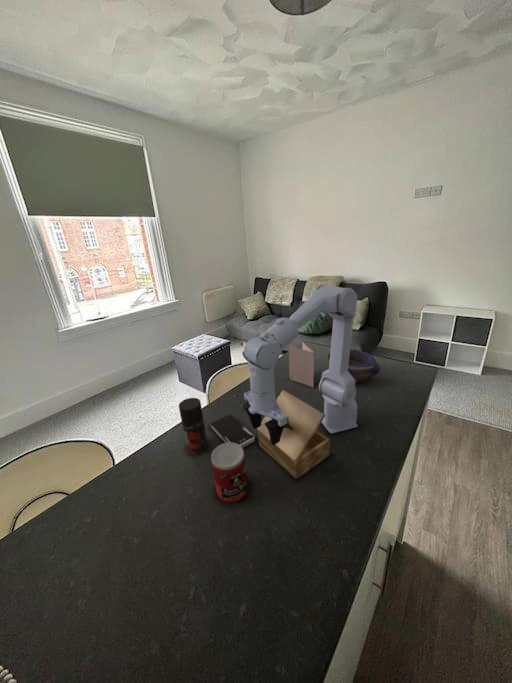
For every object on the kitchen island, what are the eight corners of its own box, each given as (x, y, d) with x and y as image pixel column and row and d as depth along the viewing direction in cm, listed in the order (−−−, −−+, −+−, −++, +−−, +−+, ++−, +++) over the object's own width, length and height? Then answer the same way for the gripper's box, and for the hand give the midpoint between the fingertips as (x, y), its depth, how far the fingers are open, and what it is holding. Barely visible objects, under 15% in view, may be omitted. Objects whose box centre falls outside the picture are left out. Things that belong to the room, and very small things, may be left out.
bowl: (382, 388, 105) (385, 364, 101) (334, 390, 105) (335, 367, 102) (365, 366, 121) (367, 345, 118) (324, 369, 122) (325, 348, 118)
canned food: (223, 509, 63) (217, 473, 59) (212, 484, 70) (206, 449, 66) (253, 494, 66) (250, 458, 62) (239, 471, 73) (235, 437, 69)
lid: (284, 390, 82) (276, 383, 79) (325, 415, 70) (317, 408, 67) (258, 429, 79) (249, 424, 76) (296, 462, 67) (286, 456, 64)
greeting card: (315, 387, 109) (316, 352, 103) (297, 390, 107) (297, 355, 102) (304, 374, 119) (304, 341, 114) (287, 376, 118) (287, 344, 112)
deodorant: (211, 442, 84) (204, 400, 78) (199, 456, 79) (191, 412, 73) (195, 437, 86) (187, 396, 81) (183, 450, 81) (174, 407, 76)
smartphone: (230, 414, 94) (255, 437, 82) (230, 417, 95) (256, 440, 83) (210, 423, 90) (233, 449, 78) (210, 426, 91) (234, 452, 79)
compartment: (290, 426, 88) (290, 412, 86) (329, 455, 76) (330, 439, 74) (259, 445, 81) (257, 430, 79) (296, 479, 69) (295, 463, 67)
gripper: (232, 382, 68) (237, 427, 73) (268, 408, 57) (271, 459, 62) (255, 372, 72) (258, 416, 77) (293, 395, 61) (294, 444, 66)
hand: (266, 434), depth 70 cm, fingers open, 7 cm apart
